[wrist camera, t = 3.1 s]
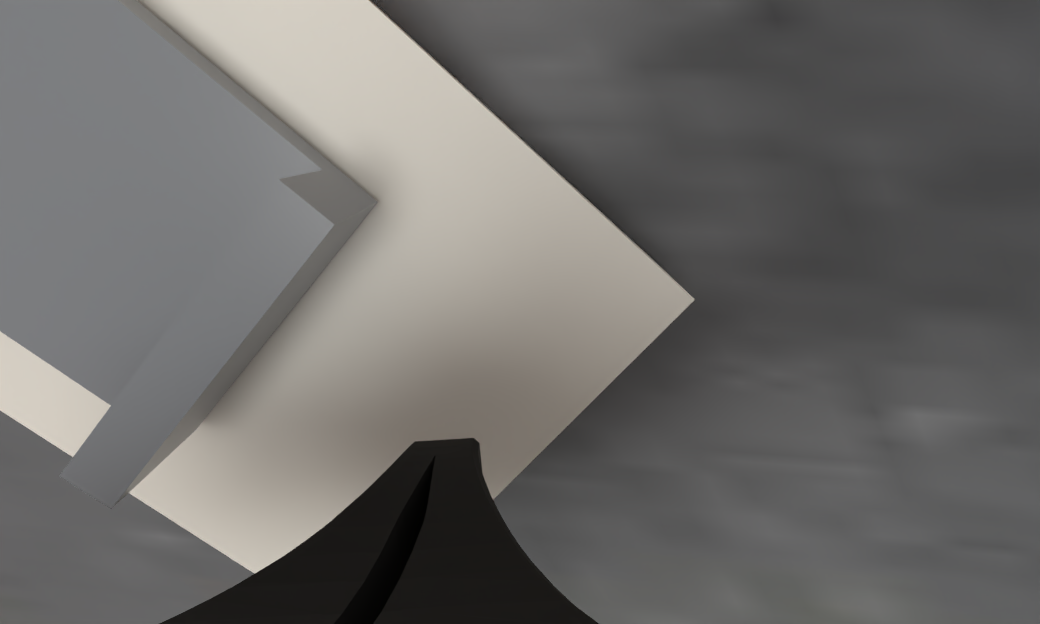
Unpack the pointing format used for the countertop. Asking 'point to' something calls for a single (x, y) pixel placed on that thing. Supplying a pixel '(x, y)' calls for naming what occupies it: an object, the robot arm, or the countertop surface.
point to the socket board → (386, 291)
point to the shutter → (148, 223)
